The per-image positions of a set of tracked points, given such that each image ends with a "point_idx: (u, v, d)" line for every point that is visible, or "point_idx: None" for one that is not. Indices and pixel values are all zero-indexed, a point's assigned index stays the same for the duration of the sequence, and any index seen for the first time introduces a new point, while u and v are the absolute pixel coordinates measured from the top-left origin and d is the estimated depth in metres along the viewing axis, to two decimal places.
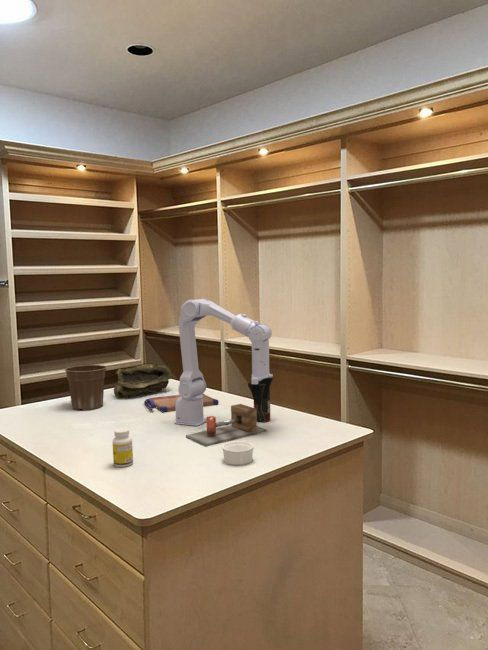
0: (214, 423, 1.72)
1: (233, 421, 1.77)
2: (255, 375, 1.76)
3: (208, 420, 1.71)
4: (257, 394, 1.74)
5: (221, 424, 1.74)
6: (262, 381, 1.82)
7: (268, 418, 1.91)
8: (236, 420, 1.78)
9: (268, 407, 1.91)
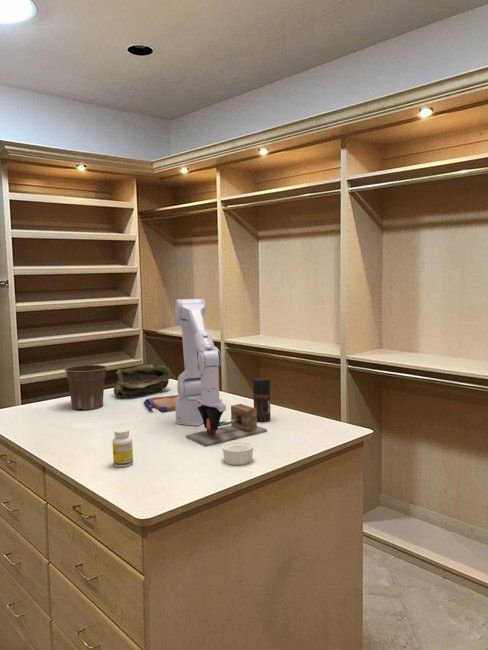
0: None
1: (233, 421, 1.77)
2: (212, 402, 1.69)
3: (208, 420, 1.71)
4: (215, 420, 1.71)
5: (221, 424, 1.74)
6: (206, 410, 1.73)
7: (268, 418, 1.91)
8: (236, 420, 1.78)
9: (268, 407, 1.91)
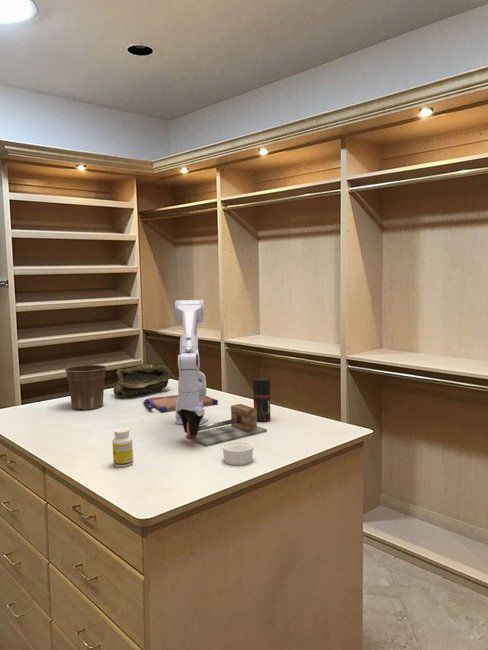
0: None
1: (214, 425, 1.73)
2: (191, 406, 1.65)
3: None
4: (194, 424, 1.66)
5: (202, 428, 1.70)
6: (186, 413, 1.69)
7: (268, 418, 1.91)
8: (218, 424, 1.73)
9: (268, 407, 1.91)
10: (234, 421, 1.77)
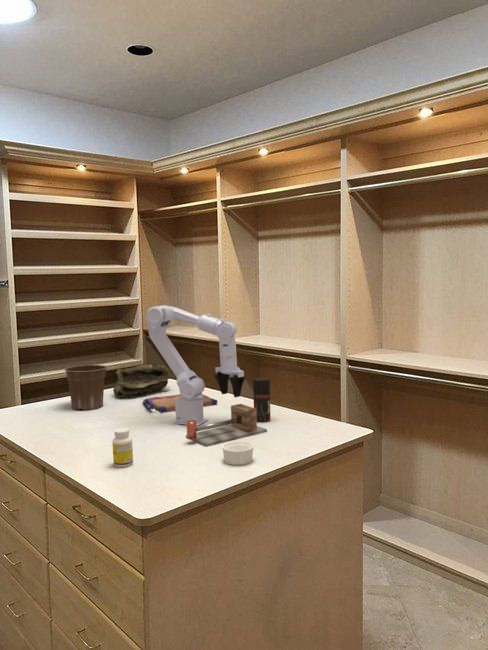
0: (194, 427, 1.67)
1: (214, 425, 1.73)
2: (231, 370, 1.84)
3: (188, 424, 1.67)
4: (237, 387, 1.83)
5: (202, 428, 1.70)
6: (222, 377, 1.89)
7: (268, 418, 1.91)
8: (218, 424, 1.73)
9: (268, 407, 1.91)
10: (234, 421, 1.77)
